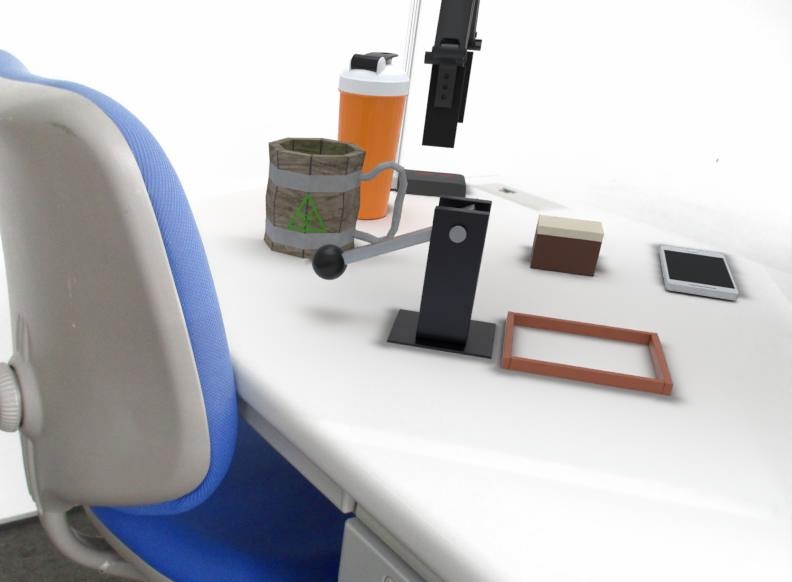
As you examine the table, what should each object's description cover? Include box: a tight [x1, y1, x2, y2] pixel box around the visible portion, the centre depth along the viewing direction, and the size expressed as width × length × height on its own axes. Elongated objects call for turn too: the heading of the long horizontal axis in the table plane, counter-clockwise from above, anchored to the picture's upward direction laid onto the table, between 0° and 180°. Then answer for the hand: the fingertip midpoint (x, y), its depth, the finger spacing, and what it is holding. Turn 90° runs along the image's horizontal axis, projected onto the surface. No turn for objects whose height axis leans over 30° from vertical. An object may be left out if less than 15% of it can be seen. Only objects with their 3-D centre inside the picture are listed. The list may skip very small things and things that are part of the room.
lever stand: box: [386, 195, 497, 360], centre depth 76 cm, size 9×8×13 cm
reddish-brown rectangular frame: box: [500, 311, 674, 396], centre depth 76 cm, size 13×11×2 cm
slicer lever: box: [311, 204, 476, 281], centre depth 76 cm, size 15×3×3 cm, turn 72°
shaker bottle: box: [337, 51, 411, 220], centre depth 113 cm, size 9×9×20 cm
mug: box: [263, 137, 408, 259], centre depth 98 cm, size 16×11×12 cm
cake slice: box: [529, 214, 605, 277], centre depth 100 cm, size 7×5×5 cm
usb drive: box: [391, 168, 467, 198], centre depth 130 cm, size 5×12×3 cm, turn 80°
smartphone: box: [658, 245, 739, 301], centre depth 100 cm, size 7×16×1 cm, turn 160°
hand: (443, 133), depth 81 cm, fingers open, 13 cm apart
